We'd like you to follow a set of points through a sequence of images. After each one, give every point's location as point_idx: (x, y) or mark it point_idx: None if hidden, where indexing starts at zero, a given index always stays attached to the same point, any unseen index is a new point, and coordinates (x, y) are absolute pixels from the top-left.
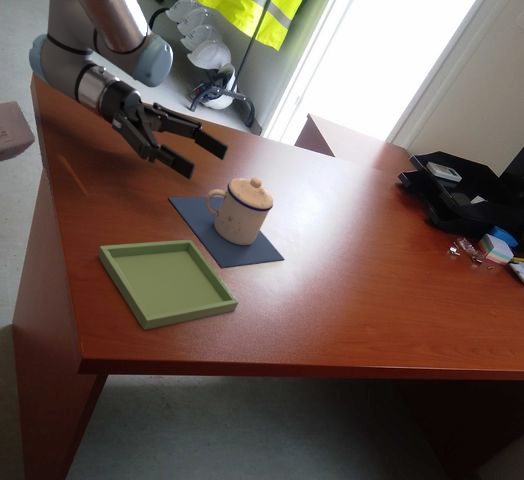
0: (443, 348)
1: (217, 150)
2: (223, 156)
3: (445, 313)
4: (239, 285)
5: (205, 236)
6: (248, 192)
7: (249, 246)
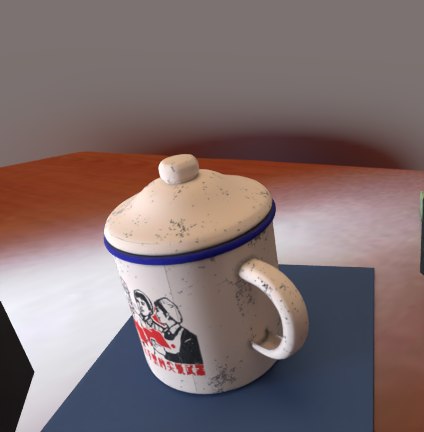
0: (130, 163)
1: (3, 383)
2: (24, 353)
3: (47, 182)
4: (360, 240)
5: (343, 346)
6: (230, 180)
7: None
